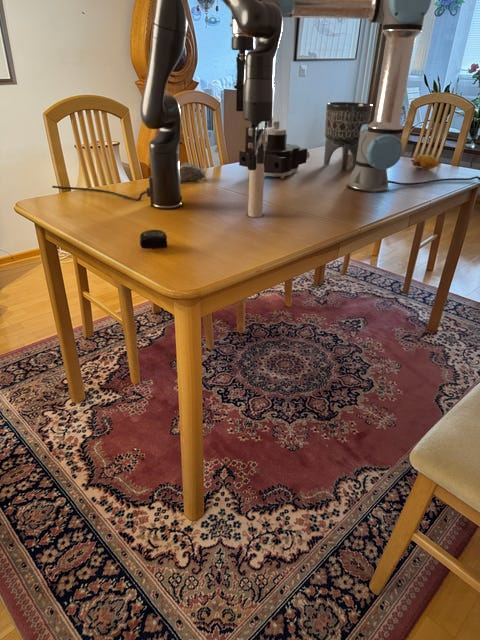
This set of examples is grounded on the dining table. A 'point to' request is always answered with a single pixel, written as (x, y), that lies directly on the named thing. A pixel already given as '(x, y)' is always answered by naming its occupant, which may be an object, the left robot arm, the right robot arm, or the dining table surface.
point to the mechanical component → (279, 154)
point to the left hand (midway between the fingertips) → (256, 166)
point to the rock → (190, 173)
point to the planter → (344, 129)
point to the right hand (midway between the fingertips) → (241, 109)
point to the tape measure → (153, 239)
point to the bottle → (256, 191)
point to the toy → (425, 162)
